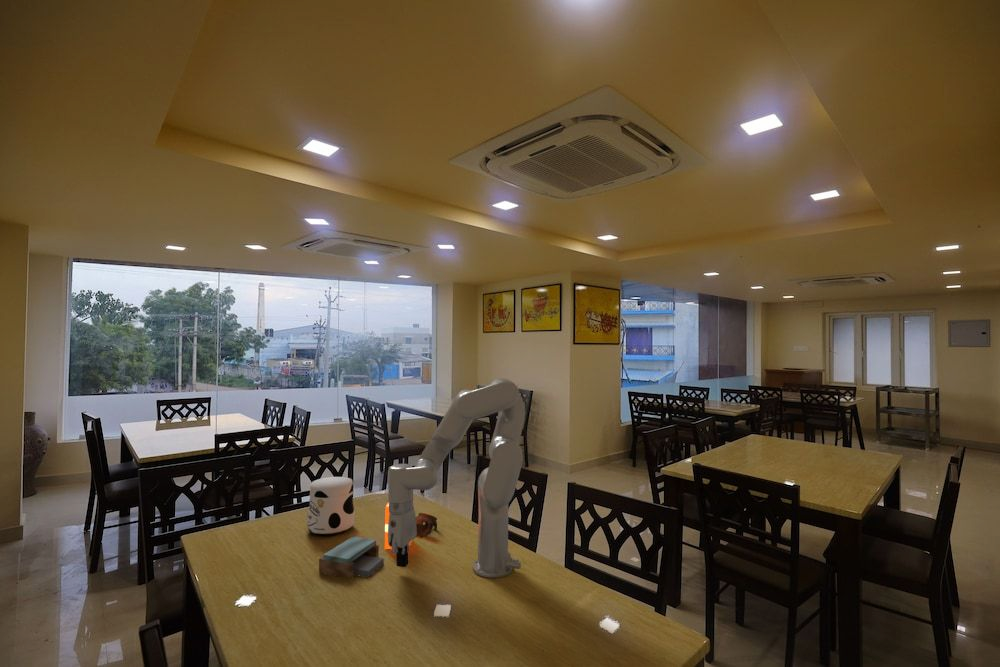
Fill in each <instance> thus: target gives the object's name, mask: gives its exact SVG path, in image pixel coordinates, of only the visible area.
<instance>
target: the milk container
mask: <svg viewBox="0 0 1000 667" xmlns="http://www.w3.org/2000/svg"><path fill="white" fill-rule="evenodd" d="M309 488H310V489H309V507H308V511H307V516H306V527H307V529H308V531H309V532H310V533H312V534H314V535H318V536H319V535H320V536H332V535H337V534H341V533H345V532H346V531H348V530H350V529H351V528H352V527H353V526H354V524H355V520H356V511H355V506H354V483H353V479H352V478H350V477H347V476H346V477H345V476H330V477H329V476H328V477H323V478H318V479H316V480H313V481H312V482H311V483H310V487H309Z"/></svg>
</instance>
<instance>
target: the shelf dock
mask: <svg viewBox="0 0 1000 667" xmlns="http://www.w3.org/2000/svg"><path fill="white" fill-rule="evenodd" d="M379 548H380V545H379V544H377V539H372V538H367V537H359V536H352V537H349V538H348V539H346V540H344V541H343V542H341V543H340V544H338V545H336V546H335V547H333V548H332V549H330V550H329V551H327V552H325V553H324V554H322V556H321V557H320V558H319V559H318V573H319V572H320V573H319V574H323V573H326V574H325V575H328V574H331V575H330V576H333V575H336V576H335V577H340V578H344V577H345V579H350V580H352V579H353V578H354V576H355V575H354V562H352V561H353V560H355V559H356V558H358V557H359V556H361V555H366V556H372V557H378V558H380V557H379V554H380V553H379V552H380V551H379ZM352 577H353V578H352Z"/></svg>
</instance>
